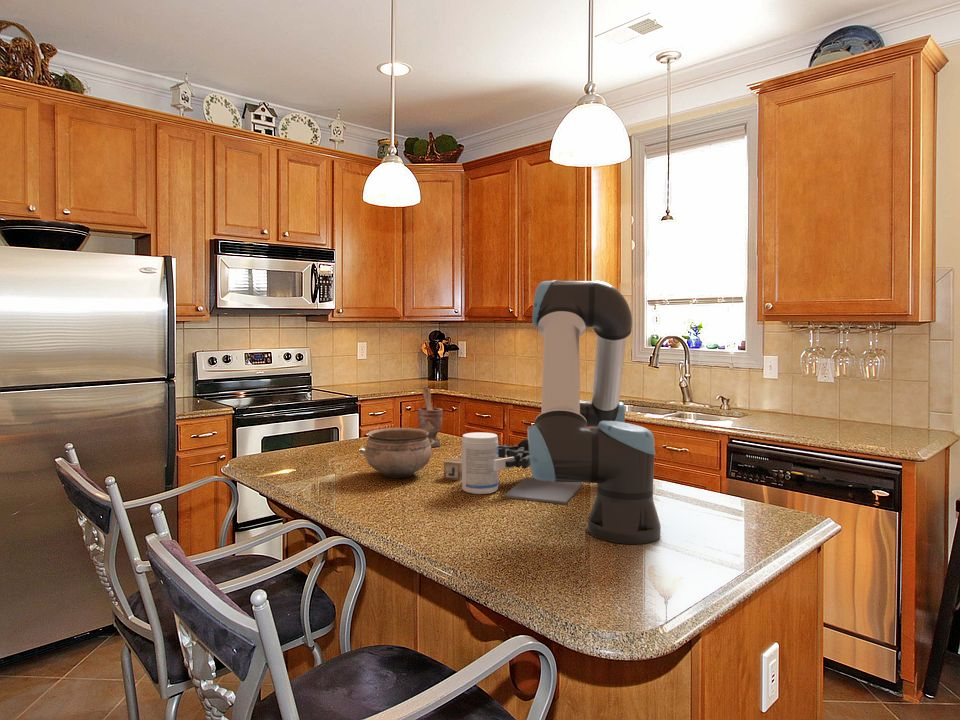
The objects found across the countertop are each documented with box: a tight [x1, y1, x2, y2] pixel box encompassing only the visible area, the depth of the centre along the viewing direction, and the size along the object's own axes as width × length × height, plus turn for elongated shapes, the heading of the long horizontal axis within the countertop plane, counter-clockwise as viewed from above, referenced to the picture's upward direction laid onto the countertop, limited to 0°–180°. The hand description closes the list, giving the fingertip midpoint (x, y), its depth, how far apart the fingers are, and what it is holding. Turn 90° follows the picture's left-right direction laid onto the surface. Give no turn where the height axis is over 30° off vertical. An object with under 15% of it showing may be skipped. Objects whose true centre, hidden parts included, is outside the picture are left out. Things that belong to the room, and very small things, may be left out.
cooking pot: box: [358, 427, 435, 479], centre depth 185 cm, size 25×19×12 cm
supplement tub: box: [461, 431, 499, 495], centre depth 170 cm, size 10×10×15 cm
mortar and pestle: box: [417, 387, 443, 448], centre depth 230 cm, size 12×9×20 cm
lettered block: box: [443, 457, 462, 482], centre depth 184 cm, size 6×5×5 cm
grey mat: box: [503, 476, 583, 505], centre depth 171 cm, size 20×16×1 cm
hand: (477, 460), depth 170 cm, fingers open, 13 cm apart
